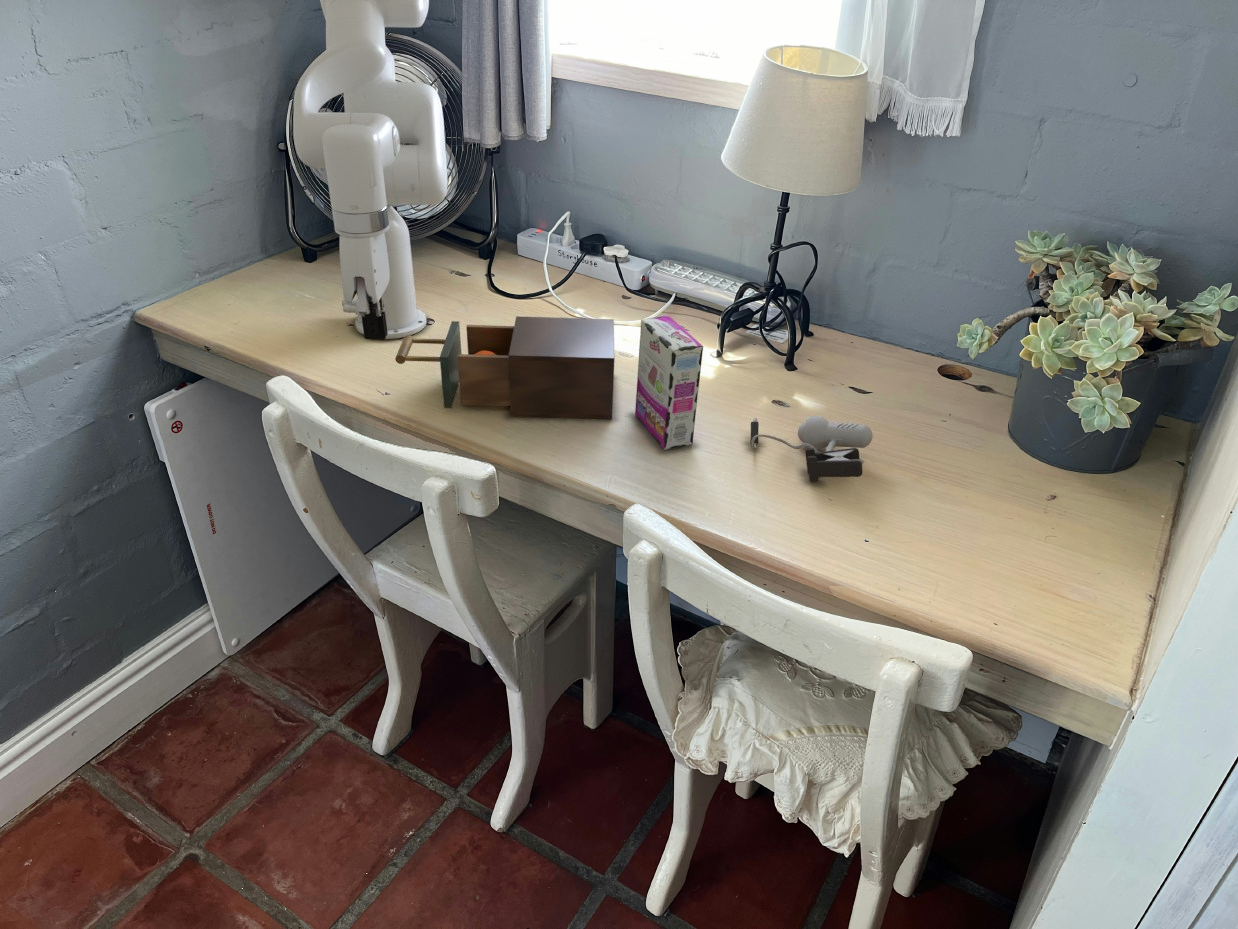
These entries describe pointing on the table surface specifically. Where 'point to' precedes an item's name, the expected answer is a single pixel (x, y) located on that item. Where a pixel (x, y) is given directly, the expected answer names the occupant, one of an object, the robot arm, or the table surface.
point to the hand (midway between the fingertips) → (376, 337)
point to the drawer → (470, 364)
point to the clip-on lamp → (824, 434)
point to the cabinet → (562, 368)
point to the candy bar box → (668, 381)
